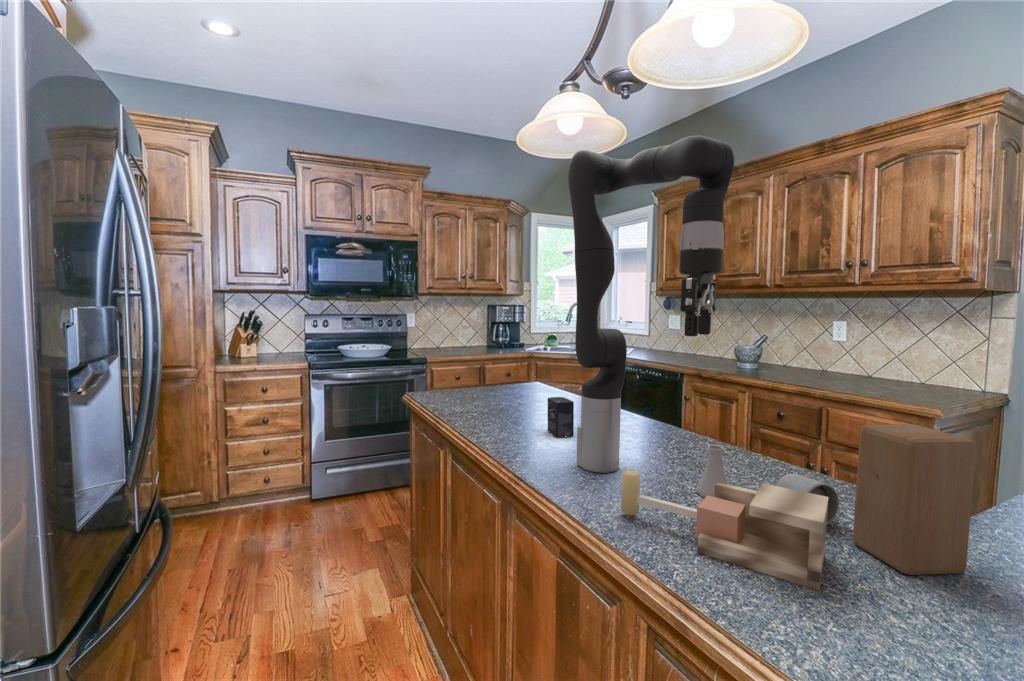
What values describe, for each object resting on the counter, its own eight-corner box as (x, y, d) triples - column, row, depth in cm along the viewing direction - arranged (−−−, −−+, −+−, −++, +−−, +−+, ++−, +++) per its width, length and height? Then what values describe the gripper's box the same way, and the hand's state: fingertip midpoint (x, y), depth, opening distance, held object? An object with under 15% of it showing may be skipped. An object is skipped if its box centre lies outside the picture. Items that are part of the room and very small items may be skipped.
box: (573, 437, 138) (574, 401, 137) (556, 438, 136) (556, 401, 136) (563, 430, 146) (564, 396, 145) (546, 431, 144) (547, 396, 143)
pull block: (614, 514, 84) (615, 476, 83) (628, 503, 88) (629, 467, 88) (736, 550, 72) (738, 505, 71) (744, 535, 76) (746, 493, 76)
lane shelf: (697, 552, 73) (699, 493, 72) (715, 526, 82) (717, 473, 81) (819, 590, 63) (823, 522, 62) (824, 557, 72) (828, 497, 71)
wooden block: (849, 543, 76) (857, 423, 75) (905, 541, 77) (914, 422, 76) (905, 578, 66) (915, 440, 65) (969, 575, 67) (980, 440, 66)
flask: (737, 503, 92) (739, 453, 91) (698, 499, 93) (700, 450, 93) (728, 489, 99) (730, 443, 98) (692, 486, 101) (693, 440, 100)
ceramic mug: (801, 505, 91) (803, 467, 90) (839, 524, 83) (841, 482, 82) (754, 511, 89) (756, 471, 88) (789, 531, 81) (790, 488, 80)
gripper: (691, 254, 95) (688, 333, 96) (668, 245, 84) (665, 335, 85) (731, 251, 90) (727, 335, 91) (712, 242, 79) (708, 337, 80)
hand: (697, 335), depth 88 cm, fingers open, 8 cm apart
